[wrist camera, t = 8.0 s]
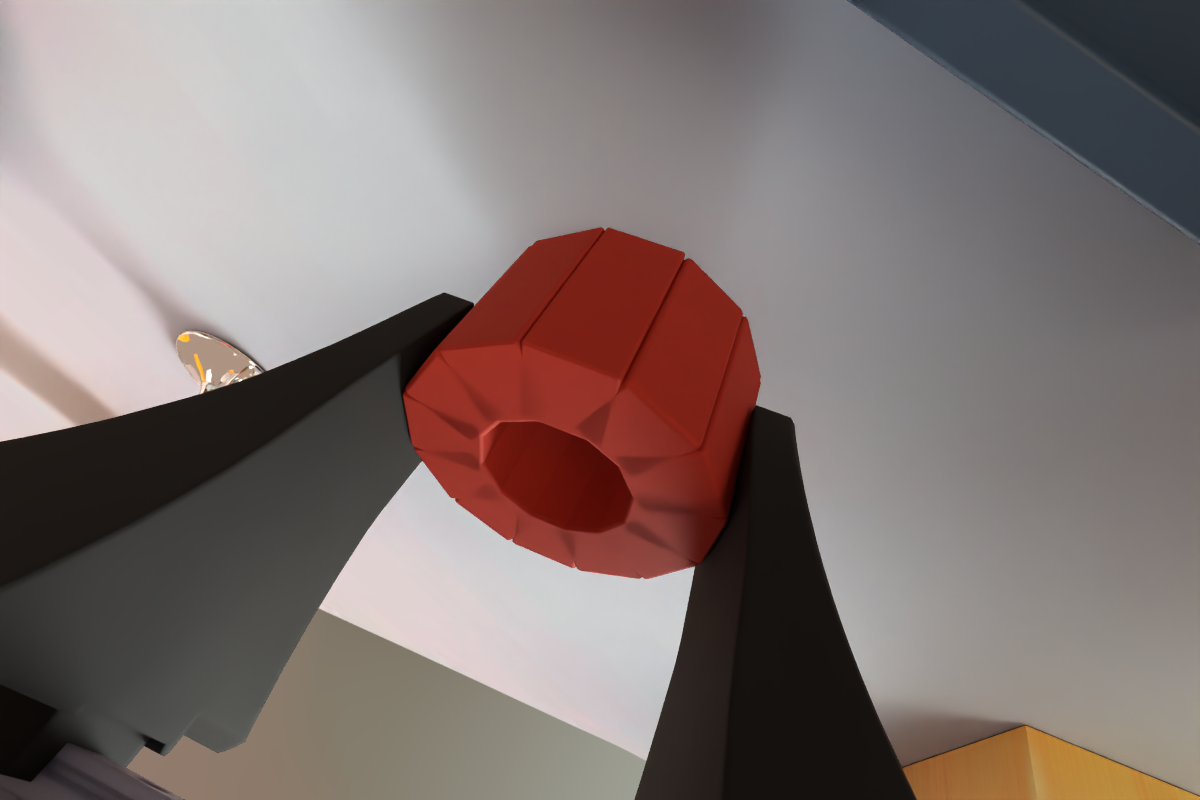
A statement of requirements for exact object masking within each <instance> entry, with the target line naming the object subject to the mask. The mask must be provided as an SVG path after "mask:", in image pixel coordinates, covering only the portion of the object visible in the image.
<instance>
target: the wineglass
mask: <svg viewBox="0 0 1200 800" xmlns="http://www.w3.org/2000/svg"><path fill="white" fill-rule="evenodd" d="M176 350H177V353H178V356H179V358H180V360H181V362H182V363H183V365H184V367H185V368H186V370H187V371H188V372H189V374H190V375H191V376H192V378H193V379H194V380H195V381H196V382H197V383H198V384H199V385H200V386H201V390H200V393H199V394H202V393H205V392H208V391H211V390H214V389H217V388H220V387H223V386H226V385H229V384H232V383H235V382H238V381H241V380H244V379H247V378H250V377H253V376H255V375H258V374H261V373H264V371H263V370H262V369H261V368H260V367H259V366H258V365H257V364H256V363H254V362H253V361H252V360H251V359H250V358H248V357H247V356H246V355H245V354H243V353H242V352H240V351H239V350H238V349H236V348H235V347H233V346H232V345H230V344H228V343H227V342H225V341H223V340H221V339H219V338H217V337H215V336H212V335H210V334H207V333H204V332H200V331H185V332H183V333H180V335H179V336H178V337H177V339H176Z"/></svg>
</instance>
